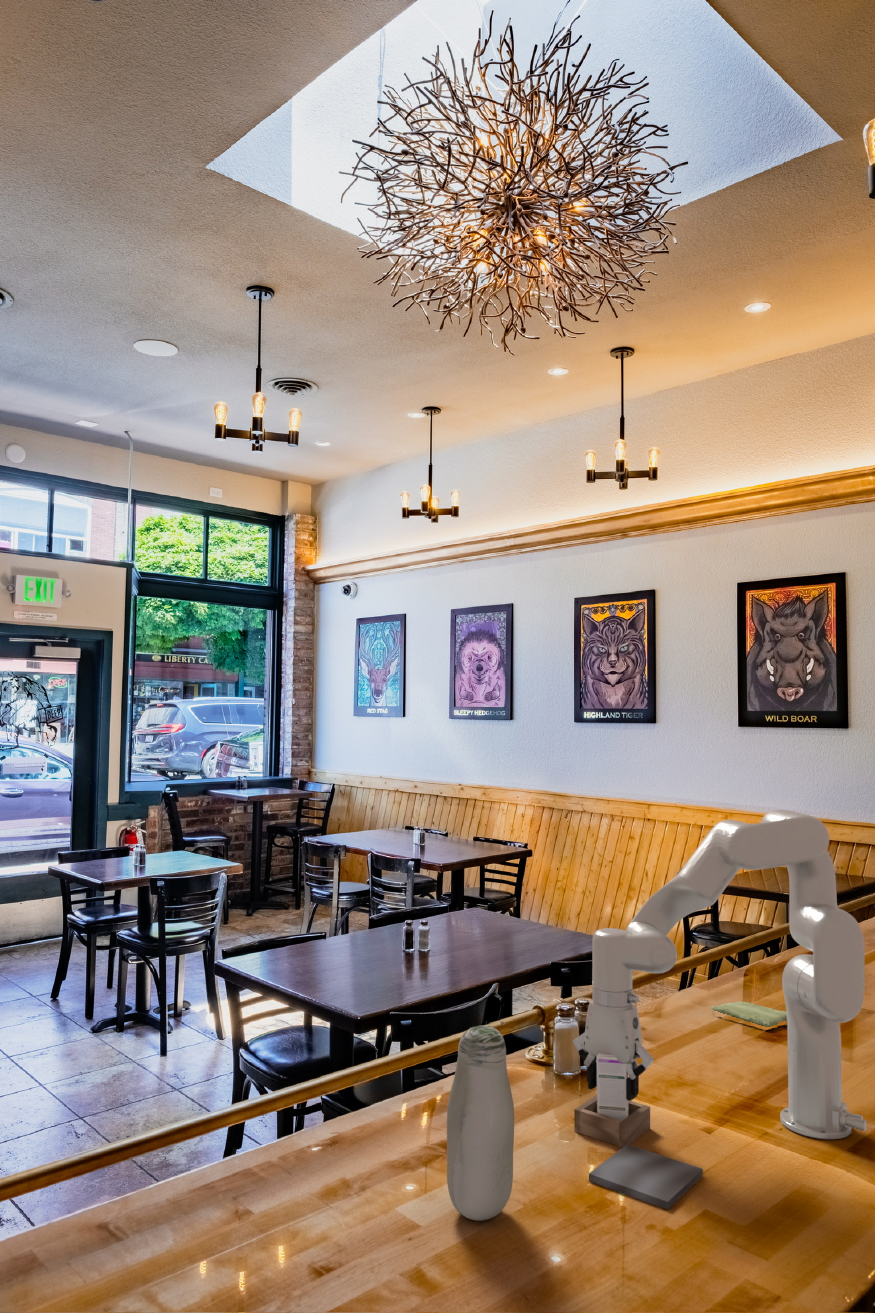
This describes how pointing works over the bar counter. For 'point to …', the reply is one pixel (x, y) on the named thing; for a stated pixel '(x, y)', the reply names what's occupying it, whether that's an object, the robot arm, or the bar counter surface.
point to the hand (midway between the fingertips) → (612, 1092)
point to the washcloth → (752, 1013)
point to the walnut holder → (612, 1123)
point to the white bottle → (480, 1126)
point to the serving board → (646, 1176)
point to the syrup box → (611, 1087)
